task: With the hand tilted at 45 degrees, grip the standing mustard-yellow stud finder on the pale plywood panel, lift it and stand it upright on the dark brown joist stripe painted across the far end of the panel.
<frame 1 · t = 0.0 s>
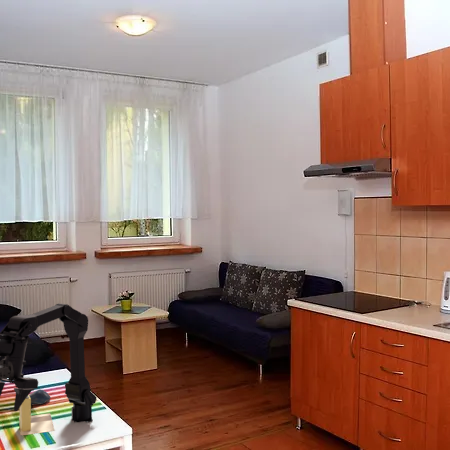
hand: (5, 408, 173), 15 cm above the table, fingers open, 9 cm apart
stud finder: (25, 428, 195), point 1 cm above the table, touching subfloor panel
subfloor panel: (36, 426, 198), on the table
seashell: (37, 403, 221), on the table
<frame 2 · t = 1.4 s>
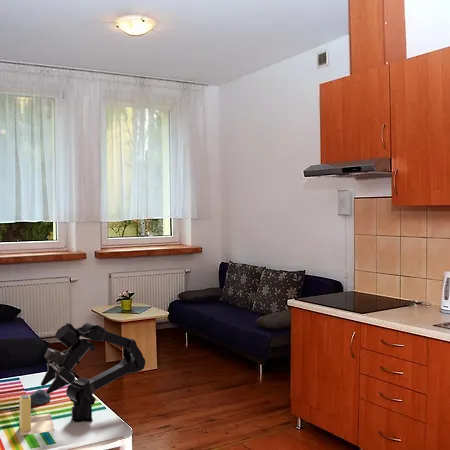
hand: (44, 389, 197), 14 cm above the table, fingers open, 9 cm apart
nothing on the table moved.
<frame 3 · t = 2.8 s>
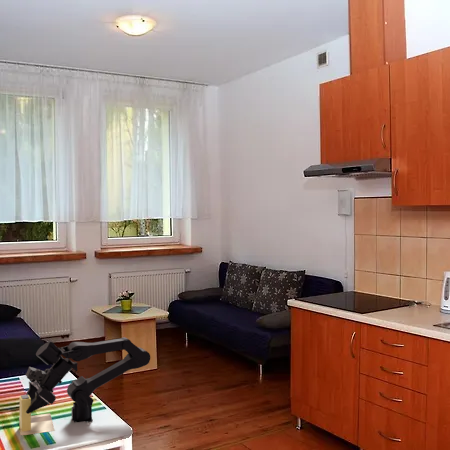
hand: (24, 408, 194), 8 cm above the table, fingers open, 9 cm apart
nothing on the table moved.
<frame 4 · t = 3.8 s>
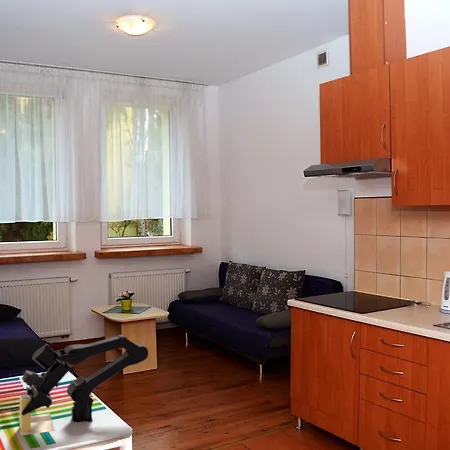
hand: (20, 412, 194), 7 cm above the table, fingers closed on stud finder, 4 cm apart
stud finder: (25, 428, 195), point 1 cm above the table, touching gripper, subfloor panel
everything else where it was.
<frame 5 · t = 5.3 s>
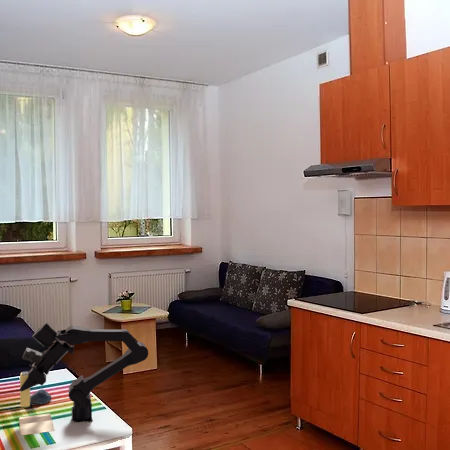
hand: (21, 388, 198), 13 cm above the table, fingers closed on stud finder, 4 cm apart
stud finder: (25, 404, 199), point 7 cm above the table, touching gripper
everything else where it was.
when the fingers open (7 cm above the table, at t = 6.9 s): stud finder stays where it is, resting on subfloor panel.
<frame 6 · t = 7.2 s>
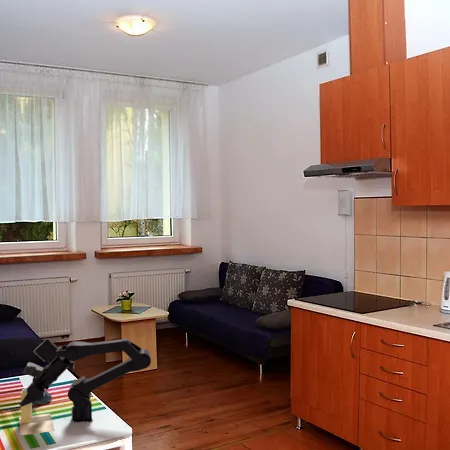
hand: (22, 402, 201), 8 cm above the table, fingers open, 7 cm apart
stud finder: (26, 420, 201), point 1 cm above the table, touching subfloor panel
everything else where it was.
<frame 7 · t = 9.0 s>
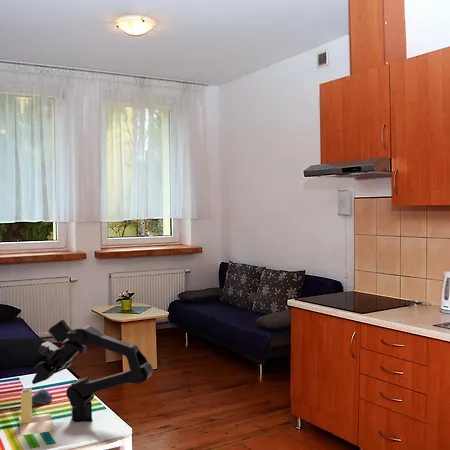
hand: (39, 379, 207), 14 cm above the table, fingers open, 9 cm apart
nothing on the table moved.
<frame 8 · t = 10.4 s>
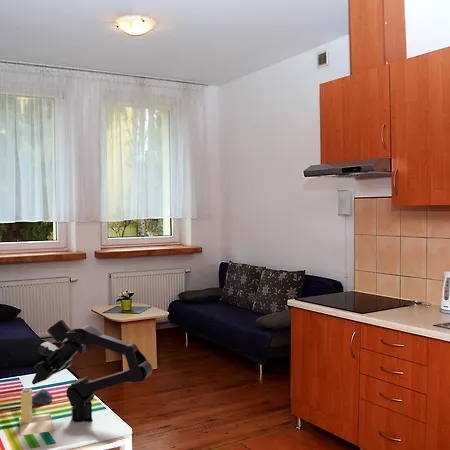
hand: (39, 379, 208), 14 cm above the table, fingers open, 9 cm apart
at the end: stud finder inside the target area (1.3 cm from its centre), point 0.6 cm above the table; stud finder tilted 0°; the gripper is holding nothing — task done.
